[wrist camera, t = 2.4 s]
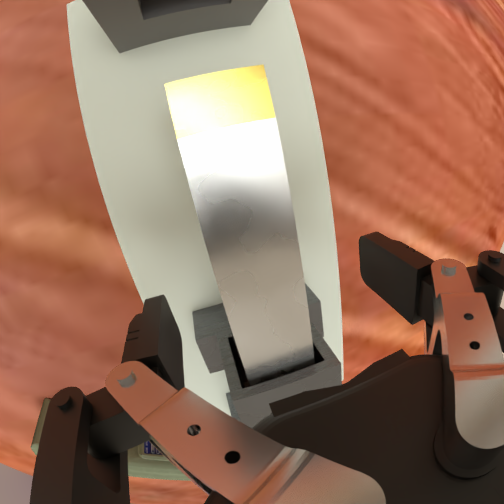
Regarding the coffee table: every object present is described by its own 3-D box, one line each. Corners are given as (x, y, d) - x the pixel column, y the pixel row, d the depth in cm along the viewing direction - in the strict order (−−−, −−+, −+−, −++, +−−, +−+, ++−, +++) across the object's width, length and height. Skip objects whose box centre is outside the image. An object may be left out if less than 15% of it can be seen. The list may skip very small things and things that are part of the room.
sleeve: (234, 412, 25) (256, 490, 17) (192, 311, 20) (205, 408, 12) (315, 385, 26) (354, 454, 18) (301, 278, 21) (364, 353, 13)
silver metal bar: (268, 435, 21) (280, 467, 18) (168, 98, 11) (164, 84, 8) (307, 421, 21) (322, 452, 18) (243, 81, 12) (263, 64, 9)
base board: (205, 414, 26) (206, 425, 25) (73, 11, 12) (66, 4, 11) (337, 370, 28) (343, 380, 27) (270, -30, 14) (276, -39, 12)
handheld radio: (43, 392, 22) (276, 415, 29) (49, 410, 23) (268, 431, 30) (28, 443, 16) (295, 464, 23) (37, 459, 17) (283, 477, 24)
